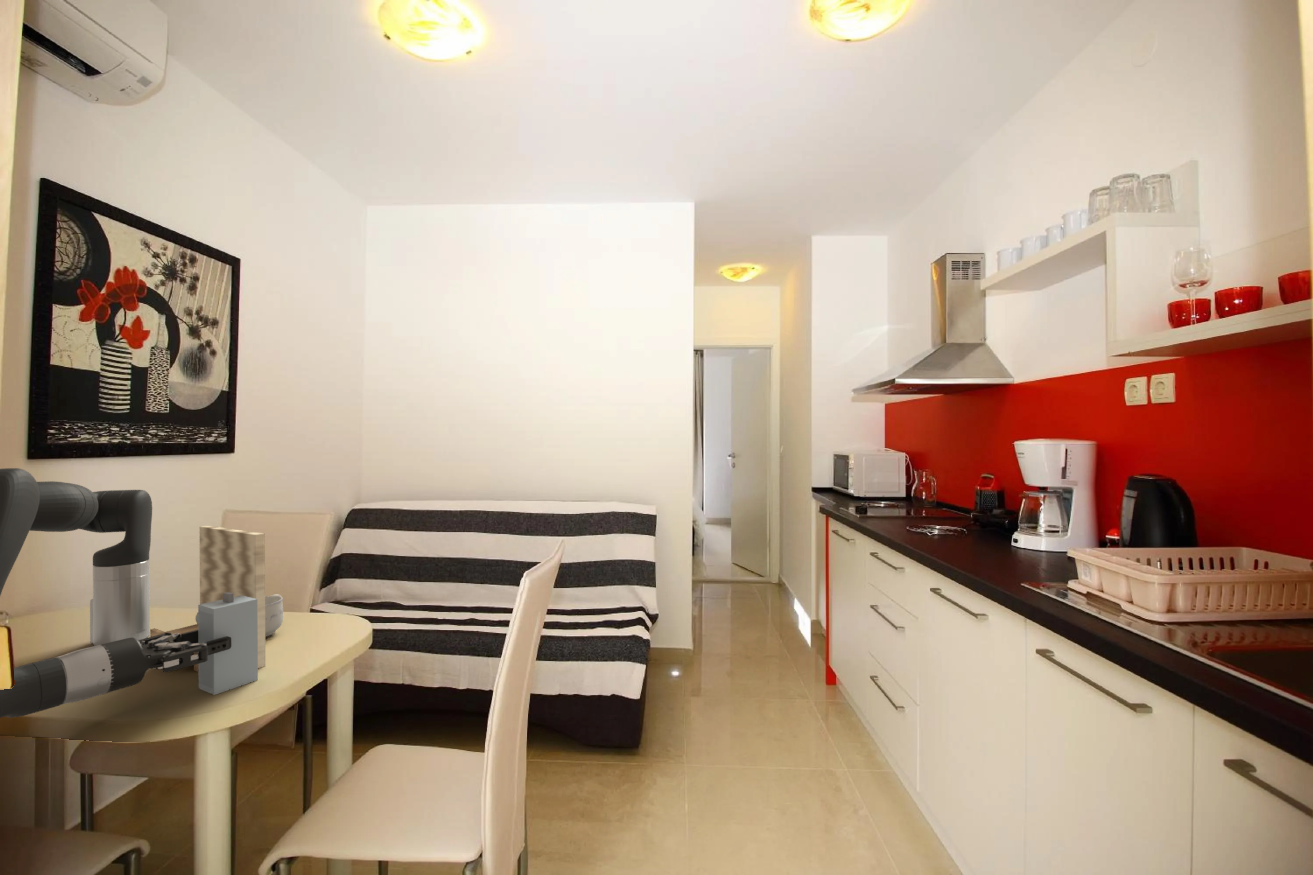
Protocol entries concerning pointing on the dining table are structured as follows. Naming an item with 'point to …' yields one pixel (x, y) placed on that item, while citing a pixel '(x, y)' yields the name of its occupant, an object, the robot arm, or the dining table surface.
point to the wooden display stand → (231, 574)
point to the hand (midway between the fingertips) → (218, 637)
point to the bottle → (242, 626)
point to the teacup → (273, 613)
